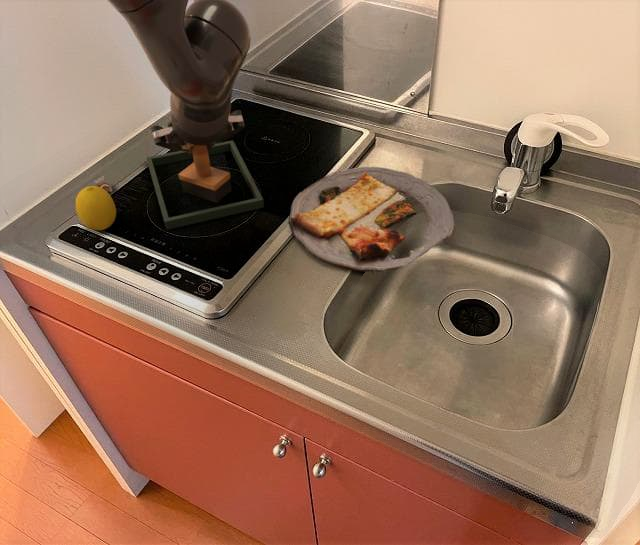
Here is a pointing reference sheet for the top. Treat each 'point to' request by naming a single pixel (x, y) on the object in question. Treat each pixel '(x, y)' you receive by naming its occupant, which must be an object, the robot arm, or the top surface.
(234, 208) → the green rectangular frame
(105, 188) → the pale curved piece
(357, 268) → the food plate
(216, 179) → the brush
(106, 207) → the lemon
